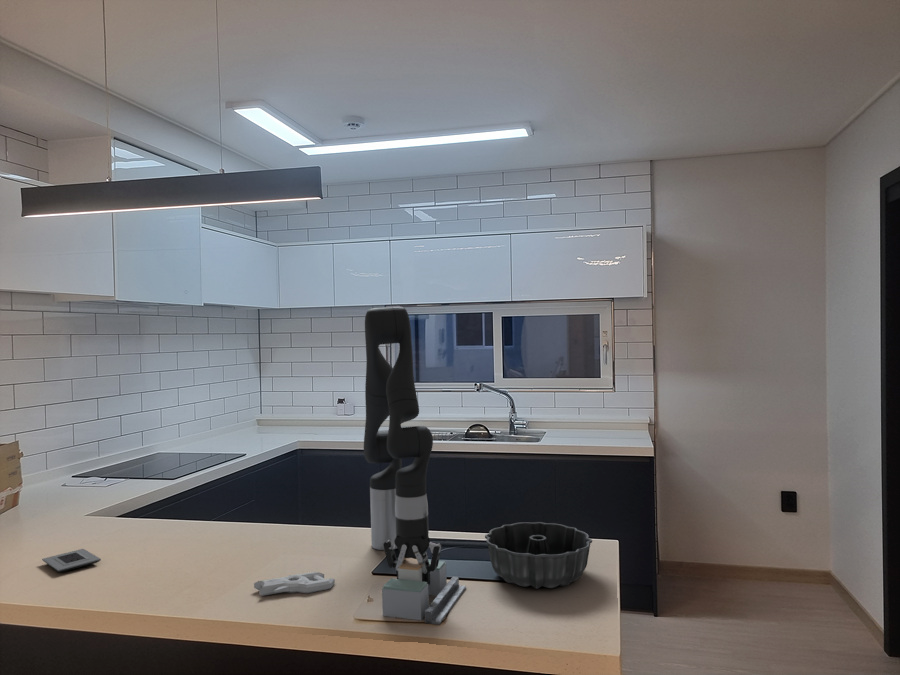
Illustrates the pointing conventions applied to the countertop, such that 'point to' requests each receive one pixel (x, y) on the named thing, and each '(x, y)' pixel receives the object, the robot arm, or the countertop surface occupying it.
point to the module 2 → (405, 599)
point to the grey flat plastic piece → (295, 584)
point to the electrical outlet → (71, 560)
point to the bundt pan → (538, 553)
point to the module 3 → (437, 579)
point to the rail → (444, 601)
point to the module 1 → (410, 570)
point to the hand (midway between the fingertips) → (413, 586)
